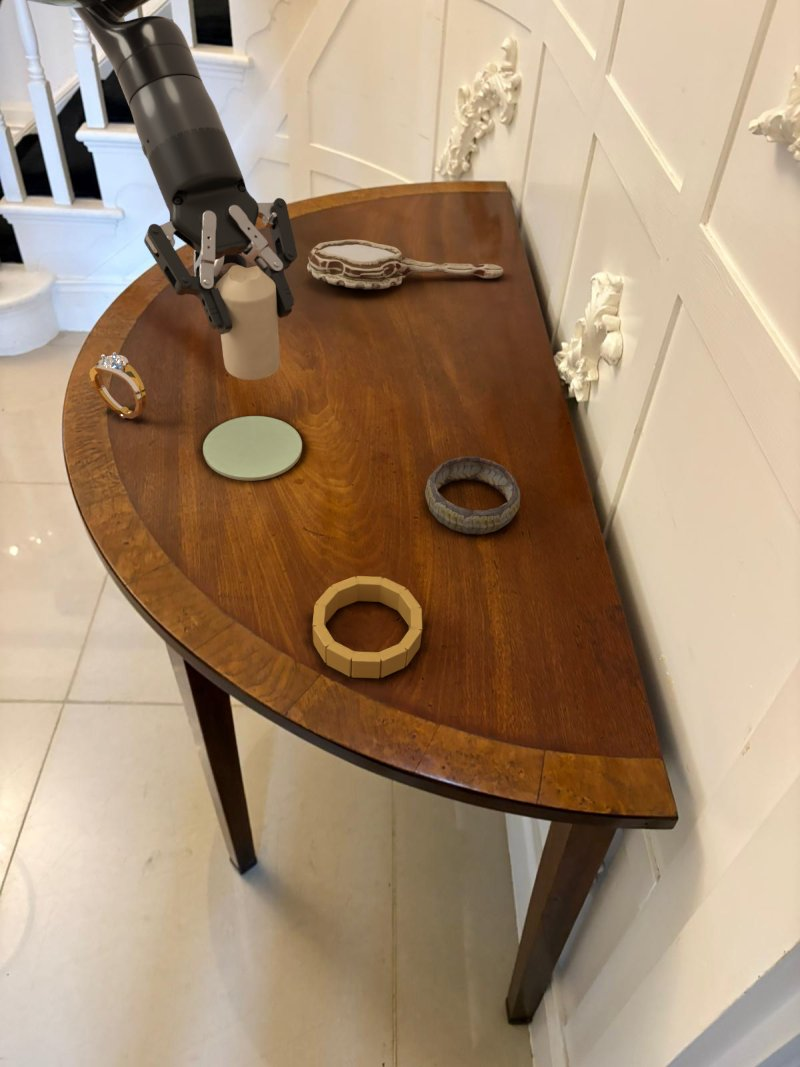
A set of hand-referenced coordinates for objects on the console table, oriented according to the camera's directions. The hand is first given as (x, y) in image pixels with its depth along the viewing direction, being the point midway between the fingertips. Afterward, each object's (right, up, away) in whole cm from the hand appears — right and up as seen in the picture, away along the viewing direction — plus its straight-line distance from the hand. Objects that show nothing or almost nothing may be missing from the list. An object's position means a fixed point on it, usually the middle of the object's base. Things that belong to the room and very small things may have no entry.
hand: (257, 322), depth 74 cm
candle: (-1, -3, +5) cm, 6 cm away
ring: (-19, -6, +18) cm, 27 cm away
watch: (-12, +18, +42) cm, 47 cm away
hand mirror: (+14, +18, +45) cm, 51 cm away
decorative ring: (+21, -17, +11) cm, 29 cm away
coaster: (-3, -10, +15) cm, 18 cm away
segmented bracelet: (+10, -29, -2) cm, 31 cm away
